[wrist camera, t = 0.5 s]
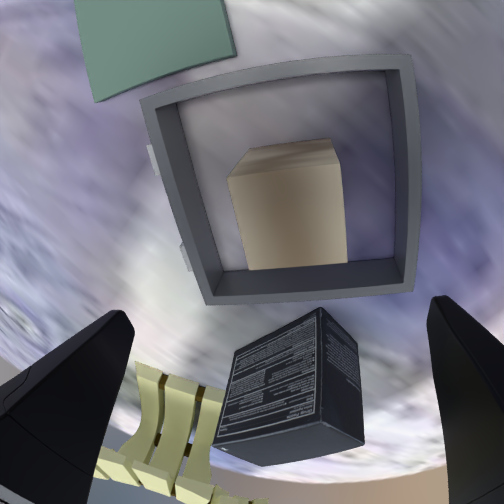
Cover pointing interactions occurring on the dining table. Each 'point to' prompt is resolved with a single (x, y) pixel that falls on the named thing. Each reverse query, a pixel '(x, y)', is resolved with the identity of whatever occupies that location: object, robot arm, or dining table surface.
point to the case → (304, 277)
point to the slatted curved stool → (170, 441)
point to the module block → (290, 205)
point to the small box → (293, 395)
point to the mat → (148, 40)
